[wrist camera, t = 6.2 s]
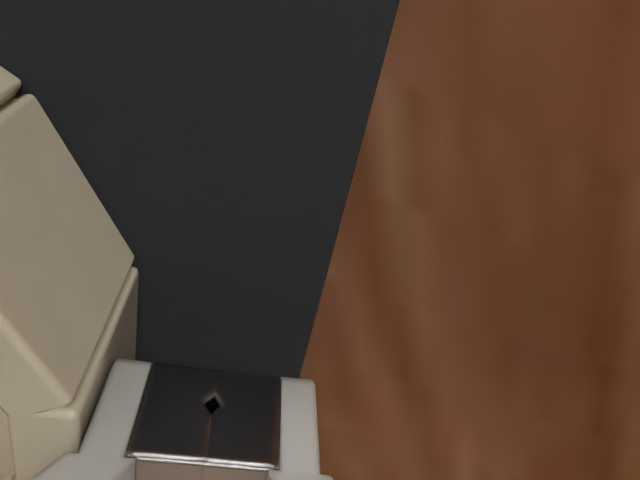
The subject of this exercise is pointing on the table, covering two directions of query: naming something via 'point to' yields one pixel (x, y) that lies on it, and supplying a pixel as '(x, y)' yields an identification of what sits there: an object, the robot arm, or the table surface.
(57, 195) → the bowl
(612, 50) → the table surface
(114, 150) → the desk mat
